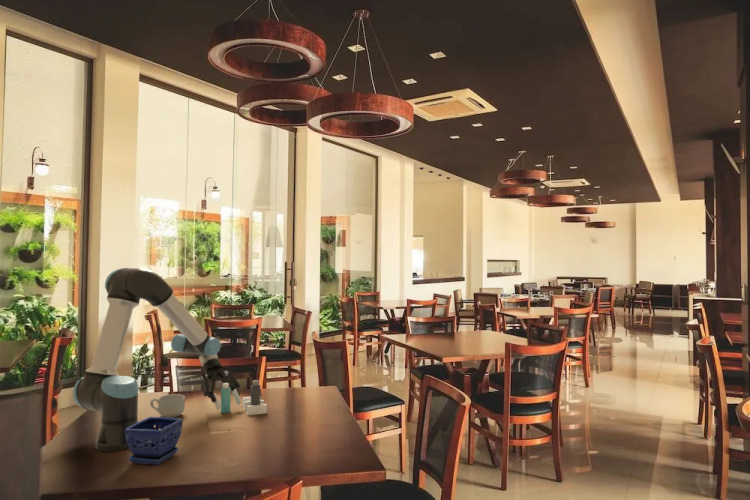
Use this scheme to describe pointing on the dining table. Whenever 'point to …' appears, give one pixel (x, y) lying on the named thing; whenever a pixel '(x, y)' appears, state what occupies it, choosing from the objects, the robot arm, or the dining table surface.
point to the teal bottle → (225, 398)
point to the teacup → (169, 405)
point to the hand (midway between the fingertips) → (229, 405)
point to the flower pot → (153, 439)
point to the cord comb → (253, 406)
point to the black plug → (255, 393)
